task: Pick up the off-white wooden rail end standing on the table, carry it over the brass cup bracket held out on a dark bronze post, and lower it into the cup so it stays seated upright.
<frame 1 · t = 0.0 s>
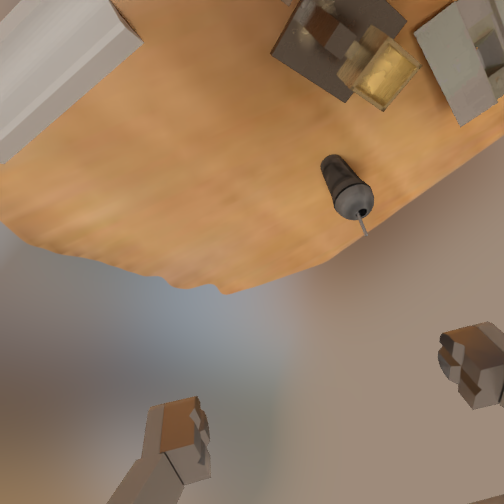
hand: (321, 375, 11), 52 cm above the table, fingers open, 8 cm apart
grey grooved block: (465, 34, 56), on the table
crown molding: (33, 74, 49), on the table
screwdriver: (330, 163, 70), on the table
cup bracket: (337, 36, 52), on the table
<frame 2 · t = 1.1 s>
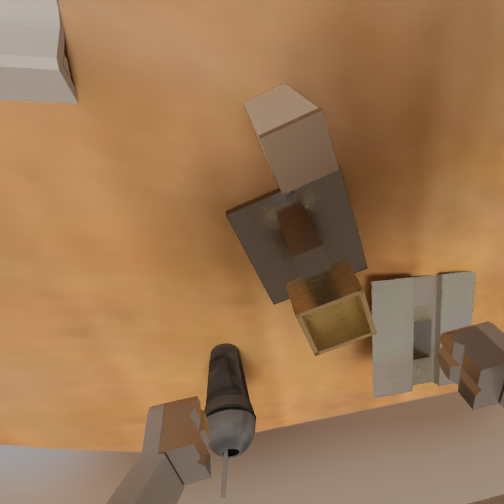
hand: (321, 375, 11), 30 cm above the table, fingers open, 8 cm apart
grey grooved block: (405, 306, 54), on the table
rail end: (271, 114, 35), on the table
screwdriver: (224, 352, 55), on the table
cup bracket: (300, 239, 44), on the table
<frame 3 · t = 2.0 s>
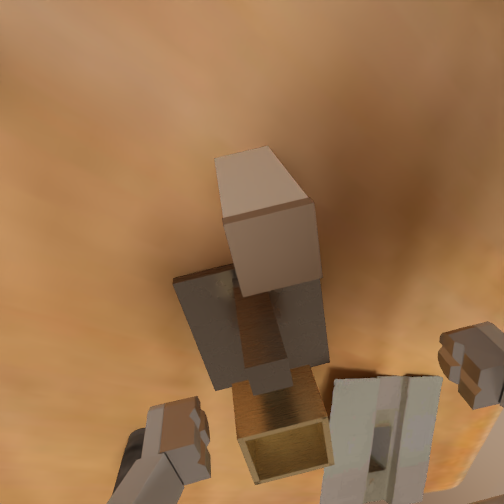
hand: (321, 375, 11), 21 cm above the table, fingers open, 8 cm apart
grey grooved block: (364, 404, 48), on the table
rail end: (246, 178, 29), on the table
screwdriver: (146, 437, 45), on the table
cup bracket: (258, 321, 37), on the table
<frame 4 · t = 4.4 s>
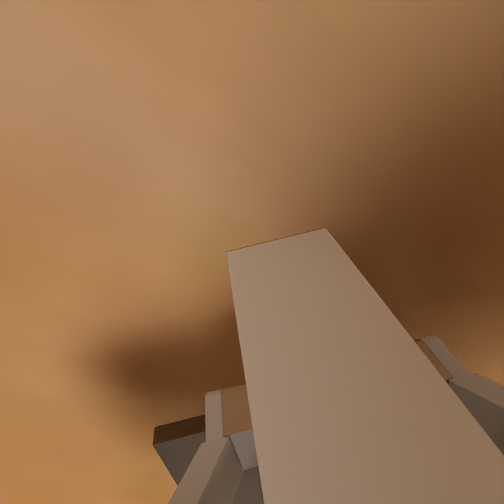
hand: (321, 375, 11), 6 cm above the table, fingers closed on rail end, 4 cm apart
rail end: (283, 281, 16), on the table, touching gripper
cup bracket: (290, 469, 24), on the table
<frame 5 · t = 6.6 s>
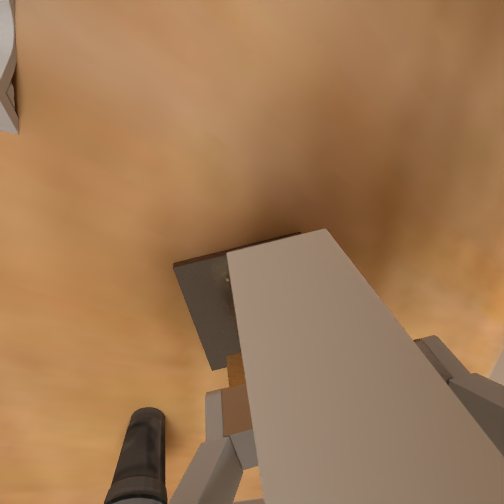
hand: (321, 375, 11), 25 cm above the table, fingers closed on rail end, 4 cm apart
rail end: (283, 281, 16), point 19 cm above the table, touching gripper
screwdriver: (148, 417, 48), on the table
cup bracket: (251, 304, 41), on the table
when the fingers open (16 cm above the table, at t = 10.8 s): rail end drops 1 cm, resting on cup bracket.
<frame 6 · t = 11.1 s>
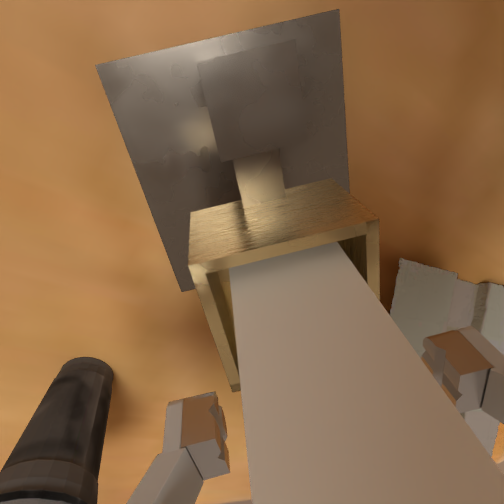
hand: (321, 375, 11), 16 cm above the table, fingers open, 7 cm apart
grey grooved block: (416, 327, 34), on the table
rail end: (279, 265, 17), point 9 cm above the table, touching cup bracket
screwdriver: (87, 373, 31), on the table
cup bracket: (245, 170, 24), on the table
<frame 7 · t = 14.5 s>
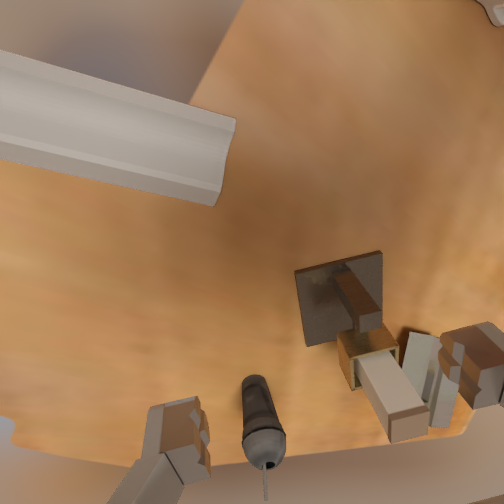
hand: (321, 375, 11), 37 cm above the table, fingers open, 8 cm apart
grey grooved block: (414, 358, 69), on the table
rail end: (363, 348, 51), point 9 cm above the table, touching cup bracket
crown molding: (98, 132, 41), on the table
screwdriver: (253, 382, 65), on the table
cup bracket: (340, 299, 58), on the table
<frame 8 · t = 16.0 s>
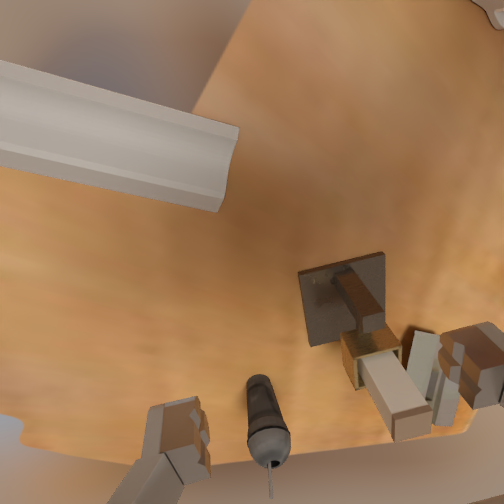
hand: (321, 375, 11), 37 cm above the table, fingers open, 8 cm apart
grey grooved block: (419, 357, 69), on the table
rail end: (366, 348, 52), point 9 cm above the table, touching cup bracket
crown molding: (103, 141, 42), on the table
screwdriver: (258, 381, 66), on the table
cup bracket: (343, 300, 58), on the table
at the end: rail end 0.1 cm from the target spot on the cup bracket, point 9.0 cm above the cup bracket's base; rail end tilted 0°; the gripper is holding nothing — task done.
